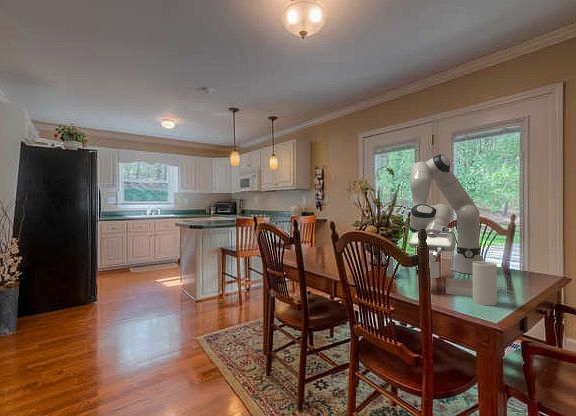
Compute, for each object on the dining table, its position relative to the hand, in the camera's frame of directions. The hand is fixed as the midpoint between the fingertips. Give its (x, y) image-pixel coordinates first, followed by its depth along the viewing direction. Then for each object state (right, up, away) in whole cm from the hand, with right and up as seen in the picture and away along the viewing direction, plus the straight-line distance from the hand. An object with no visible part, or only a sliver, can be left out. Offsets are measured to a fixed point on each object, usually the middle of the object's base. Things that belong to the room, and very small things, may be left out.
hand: (426, 255), depth 138 cm
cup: (+16, -17, -15) cm, 28 cm away
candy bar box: (-8, -16, +29) cm, 35 cm away
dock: (+16, -16, +1) cm, 23 cm away
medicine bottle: (+1, -10, +1) cm, 10 cm away
